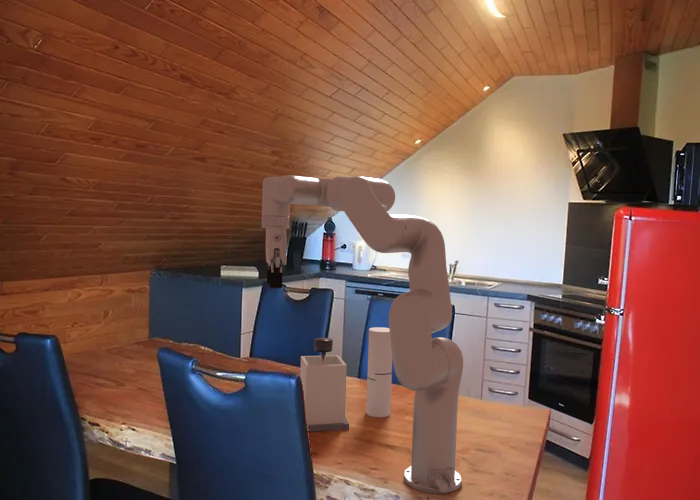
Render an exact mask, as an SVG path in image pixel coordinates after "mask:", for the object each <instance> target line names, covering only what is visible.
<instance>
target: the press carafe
mask: <svg viewBox="0 0 700 500" xmlns="http://www.w3.org/2000/svg"><path fill="white" fill-rule="evenodd" d="M347 366H348V364H346V362H345V361H344V360H343V359H342V358H341V357H340V355H338V354H337V355H334V354H333V355H325V365H321V355H301V356H300V369H299V370H300V372H299V375H300V377H301V380H302V384H303V390H304V400H305V409H306V418H307V423H308V429H309V432H323V431H324V432H327V431H343V430H345V431H346V430H350V422H349V421H348V420H347V417H346V399H347V394H346V393H347ZM300 377H299V378H300Z"/></svg>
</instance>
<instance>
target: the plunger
mask: <svg viewBox="0 0 700 500" xmlns="http://www.w3.org/2000/svg"><path fill="white" fill-rule="evenodd" d="M333 341H334V340H333V339H332V338H330V337H317V338H314V352H318V353H321V354H320V356H321V365H325V356H326V353H331V352H333V345H334V344H333Z"/></svg>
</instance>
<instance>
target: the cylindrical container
mask: <svg viewBox="0 0 700 500" xmlns="http://www.w3.org/2000/svg"><path fill="white" fill-rule="evenodd" d="M367 347H368V348H367V349H368V351H367V379H366V380H367V381H366V382H367V383H366V405H365V406H366V410H365V414H366V415H367V416H369V417H372V418H386V417H387V418H388V417H389V416H390V415H391V410H392V409H391V406H392V405H391V404H392V379H393V378H392V376H393V357H392V348H391V339H390V329H389V327H381V326H380V327H379V326H378V327H377V326H376V327H375V326H374V327H370V328H368V346H367Z"/></svg>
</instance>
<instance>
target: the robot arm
mask: <svg viewBox="0 0 700 500" xmlns="http://www.w3.org/2000/svg"><path fill="white" fill-rule="evenodd" d="M261 192H262V193H261V194H262V196H261V197H262V199H261V200H262V201H261V202H262V203H261V228H262V229H265V262H266V263H267V269H266V283H267V284H269V288H270V289H281V288H283V267H282V265H283V266H286V265H287V230H289V229H290V228H291V227H290V222H291V219H290V218H291V205H296V206H297V205H300V206H301V205H302V206H314V207H325V208H326V207H327V208H331V209H332V210H333V211H336V212H344V214H345V215H346V217H347V218H348V220H349V221H350V222H351V224H352V225H353V227H354V228H355V229H356V231H357V233H358V234H359V235H360V237H361V238H362V239H363V241H364V243H366V245H367V246H368V247H369V248H370V249H372V251H374V252H376V253H381V254H394V253H397V254H398V253H408V254H410V255H411V256H410V259H409V263H408V269H407V270H408V271H407V273H408V274H407V275H408V276H407V277H408V281H409V291H406V292H403V293H401V294H399V295H398V296H397V297H396V298H395V299H394V300H393V301H392V303H391V305H390V308H389V313H388V328H389V329H390V339H391V348H392V366H393V370H394V373H395V374H394V375H395V376H396V378H397V380H398V382H399V383H400V384H401V385H402V386H403V388H405V389H407V390H409V391H412V392H414V398H413V414H412V437H411V438H412V439H411V442H412V443H411V465H410V466H409V467H407V468H406V469H405V470H404V473H403V480H404V482H405V483H406V484H407V485H408V486H409V487H410V488H412V489H415V490H416V491H419V492H423V493H427V494H437V495H438V494H449V493H452V492H455V491H457V490H459V489H460V487H461V486H462V484H463V483H462V482H463V477H462V475H461V474H460V473H459V472H458V471H456V457H457V456H456V454H457V450H456V448H457V429H458V428H457V427H458V412H459V411H458V409H459V393H460V387H461V386H460V385H461V383H462V377H463V372H464V371H463V369H464V356H463V352H462V350H461V349H460V347H459V345H458V344H457V343H456V342H454V341H453V340H452V339H450V338H448V337H442V336H441V337H439V336H438V337H433V338H432V334H433V333H437V332H440V331H441V330H443V329H445V328H447V327H448V326H449V325H450V324H451V322H452V318H453V311H452V308H453V307H452V299H451V291H450V283H449V281H450V280H449V274H448V269H447V267H448V266H447V257H446V244H445V240H444V236H443V234H442V232H441V230H440V229H439V227H438V226H437V225H436V224H435V223H433V222H432V221H431V220H429V219H427V218H424V217H422V216H418V215H414V214H413V215H412V214H411V215H410V214H391V213H388V211H390V209H392V208H393V206H394V204H395V201H396V192H395V190H394V188H393V186H392V185H391V184H390V183H389V182H388V181H386V180H384V179H381V178H375V177H367V176H358V175H357V176H342V175H338V176H335V177H333V178H332V179H331V178H320V177H319V178H318V177H313V176H302V175H294V174H292V175H291V174H287V175H282V176H268V177H265V178H264V179H263V181H262V191H261Z"/></svg>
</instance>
